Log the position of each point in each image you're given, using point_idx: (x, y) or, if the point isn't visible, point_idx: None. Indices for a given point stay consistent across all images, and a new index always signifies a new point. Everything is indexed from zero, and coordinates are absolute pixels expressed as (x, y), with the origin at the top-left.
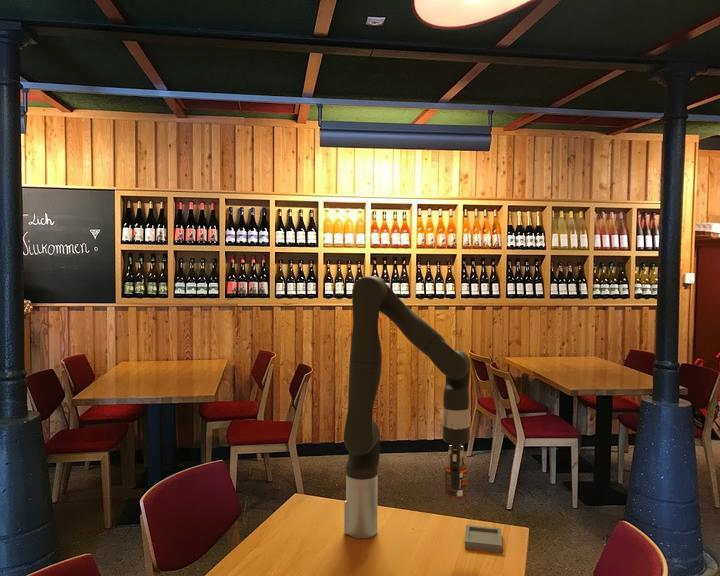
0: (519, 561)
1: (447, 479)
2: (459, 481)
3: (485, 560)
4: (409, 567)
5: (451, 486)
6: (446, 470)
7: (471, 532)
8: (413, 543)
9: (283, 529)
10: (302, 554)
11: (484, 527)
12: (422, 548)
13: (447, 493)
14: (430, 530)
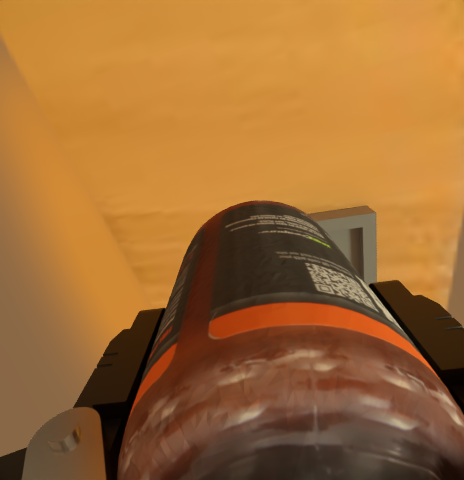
0: None
1: (179, 291)
2: None
3: None
4: (33, 68)
5: (139, 314)
6: (184, 337)
7: (336, 234)
8: (205, 26)
9: None
10: None
11: (370, 276)
12: (182, 77)
13: (196, 236)
14: (338, 68)
